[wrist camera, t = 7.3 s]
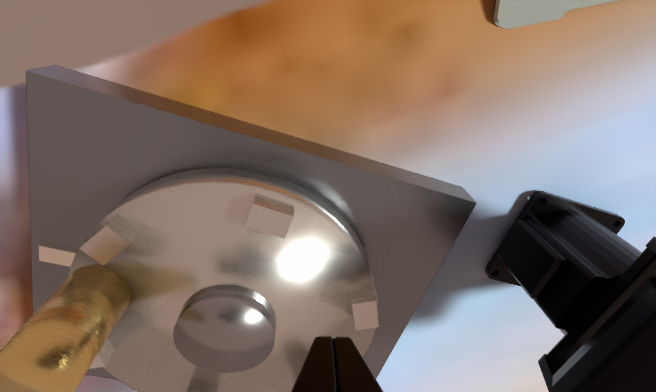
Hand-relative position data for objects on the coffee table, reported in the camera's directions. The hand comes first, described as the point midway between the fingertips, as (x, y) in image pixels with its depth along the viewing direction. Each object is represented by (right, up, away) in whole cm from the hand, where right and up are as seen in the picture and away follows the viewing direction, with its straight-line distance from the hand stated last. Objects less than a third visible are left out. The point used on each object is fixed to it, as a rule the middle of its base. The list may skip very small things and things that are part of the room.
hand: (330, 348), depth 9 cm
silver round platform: (-5, -2, +12) cm, 14 cm away
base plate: (-6, -1, +14) cm, 15 cm away
